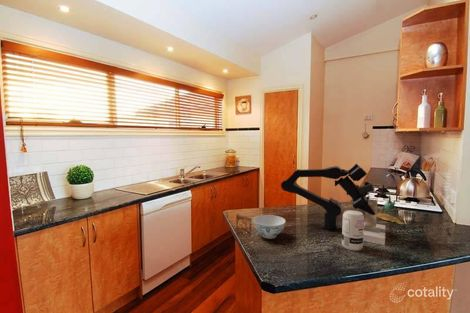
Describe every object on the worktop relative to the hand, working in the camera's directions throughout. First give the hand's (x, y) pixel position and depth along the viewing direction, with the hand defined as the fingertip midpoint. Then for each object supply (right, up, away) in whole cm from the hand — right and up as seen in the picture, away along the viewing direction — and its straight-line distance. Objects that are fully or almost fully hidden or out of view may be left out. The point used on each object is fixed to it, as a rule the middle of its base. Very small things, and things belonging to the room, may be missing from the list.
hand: (374, 213), depth 117 cm
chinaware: (-49, -11, +1) cm, 51 cm away
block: (-1, -7, +1) cm, 7 cm away
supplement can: (-16, -12, -11) cm, 22 cm away
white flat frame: (-1, -11, +2) cm, 11 cm away
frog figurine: (+21, -9, +24) cm, 33 cm away
